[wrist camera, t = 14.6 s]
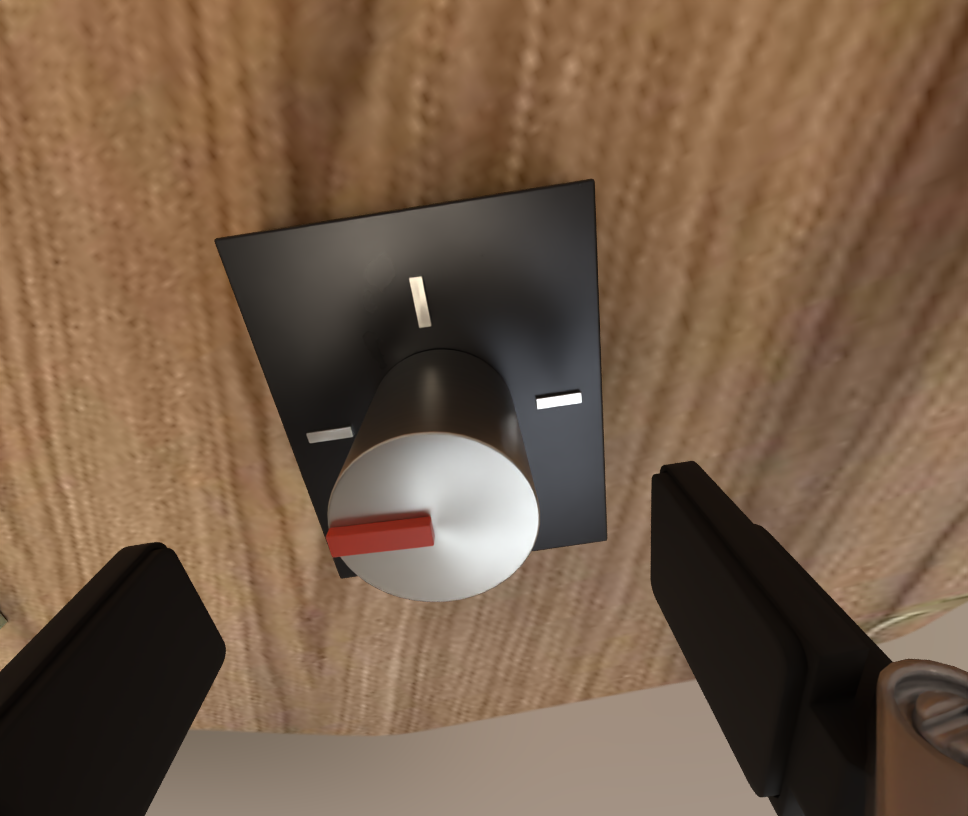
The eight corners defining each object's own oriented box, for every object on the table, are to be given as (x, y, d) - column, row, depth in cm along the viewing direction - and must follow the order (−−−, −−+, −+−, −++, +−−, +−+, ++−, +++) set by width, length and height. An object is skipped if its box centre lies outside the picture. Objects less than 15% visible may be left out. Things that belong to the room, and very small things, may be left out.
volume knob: (508, 340, 13) (536, 426, 8) (518, 468, 15) (547, 602, 10) (358, 357, 13) (295, 454, 8) (387, 483, 15) (351, 624, 10)
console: (587, 493, 19) (609, 544, 16) (356, 526, 20) (338, 583, 17) (569, 181, 14) (597, 177, 11) (259, 231, 14) (209, 239, 12)
